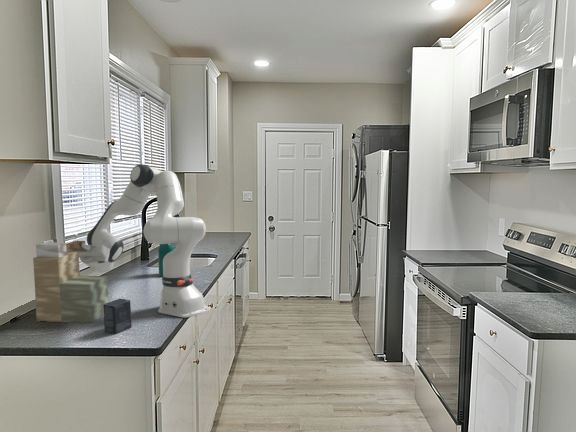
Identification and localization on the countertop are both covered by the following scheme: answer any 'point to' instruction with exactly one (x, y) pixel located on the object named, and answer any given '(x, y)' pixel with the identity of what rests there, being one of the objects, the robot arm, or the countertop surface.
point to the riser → (67, 291)
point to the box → (117, 316)
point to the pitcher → (163, 255)
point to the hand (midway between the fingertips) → (75, 244)
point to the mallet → (57, 249)
